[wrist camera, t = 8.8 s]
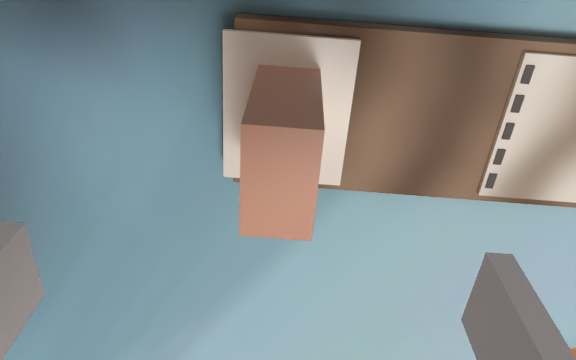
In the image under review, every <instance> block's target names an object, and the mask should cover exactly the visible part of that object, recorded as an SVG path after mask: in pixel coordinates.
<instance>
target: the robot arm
mask: <svg viewBox="0 0 576 360" xmlns="http://www.w3.org/2000/svg"><path fill="white" fill-rule="evenodd" d="M44 295H45V293H44V290H43V286H42V283H41V279H40V275H39V272H38V268H37V265H36V261H35V258H34V254H33V250H32V247H31V243H30V240H29V236H28V233H27V229H26V225H25V223H16V222H0V360H3V359H4V357H5V355H6V354H7V352H8V351H9V349H10V348H11V346H12V345H13V343H14V341H15V340H16V338H17V337H18V335H19V334H20V332H21V331H22V329H23V327H24V326H25V324H26V323H27V321H28V320H29V318H30V317H31V315H32V313H33V312H34V310H35V309H36V307H37V306H38V304H39V303H40V301H41V299H42V298H43V296H44ZM461 320H462V323H463V326H464V328H465V331H466V333H467V336H468V338H469V341H470V344H471V346H472V349H473V351H474V354H475V356H476V359H477V360H576V358H575V357H574V355H573V353H572V352H571V350H570V348H569V347H568V345H567V343H566V342H565V340H564V338H563V337H562V335H561V333H560V332H559V330H558V328H557V327H556V325H555V324H554V322H553V320H552V319H551V317H550V315H549V314H548V312H547V310H546V309H545V307H544V305H543V304H542V302H541V300H540V299H539V297H538V296H537V294H536V292H535V291H534V289H533V287H532V286H531V284H530V282H529V281H528V279H527V277H526V276H525V274H524V272H523V271H522V269H521V268H520V266H519V264H518V263H517V261H516V259H515V258H514V256H513V254H502V253H487V252H486V254H485V257H484V259H483V262H482V265H481V267H480V270H479V273H478V275H477V278H476V281H475V284H474V286H473V289H472V292H471V294H470V297H469V300H468V303H467V305H466V308H465V311H464V313H463V316H462V319H461Z"/></svg>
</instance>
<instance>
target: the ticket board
mask: <svg viewBox="0 0 576 360" xmlns="http://www.w3.org/2000/svg"><path fill="white" fill-rule="evenodd" d="M234 30H247V31H260V32H273V33H286V34H299V35H312V36H325V37H338V38H351V39H361V45H360V51H359V58H358V65H357V72H356V79H355V86H354V93H353V99H352V106H351V113H350V120H349V127H348V134H347V141H346V147H345V154H344V161H343V168H342V175H341V182H340V186H338V185H325V184H318V188H326V189H339V190H353V191H366V192H379V193H392V194H405V195H418V196H431V197H444V198H457V199H470V200H484V201H497V202H510V203H523V204H536V205H549V206H562V207H575V208H576V39H571V38H558V37H545V36H532V35H519V34H506V33H493V32H480V31H467V30H454V29H441V28H428V27H415V26H402V25H389V24H376V23H363V22H350V21H337V20H324V19H311V18H298V17H285V16H272V15H259V14H246V13H237V15H236V16H235V18H234ZM233 181H235V182H240V178H233Z"/></svg>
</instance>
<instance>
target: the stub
mask: <svg viewBox="0 0 576 360" xmlns="http://www.w3.org/2000/svg"><path fill="white" fill-rule="evenodd" d="M360 45H361V39H351V38H338V37H325V36H312V35H299V34H286V33H273V32H260V31H247V30H234V29H223V165H224V177H233V178H240V211H239V235H241V236H254V237H267V238H280V239H294V240H307V241H312V235H313V227H314V218H315V210H316V201H317V193H318V184H325V185H338V186H340V182H341V175H342V168H343V161H344V154H345V147H346V141H347V134H348V127H349V120H350V113H351V106H352V99H353V93H354V86H355V79H356V72H357V65H358V58H359V51H360Z"/></svg>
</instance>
